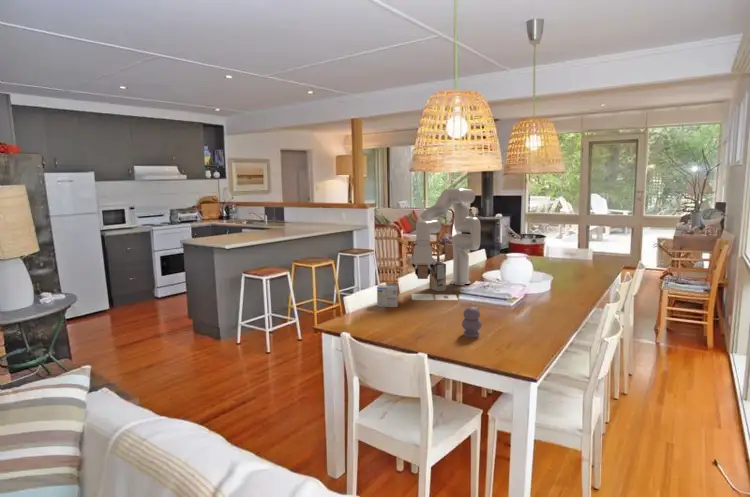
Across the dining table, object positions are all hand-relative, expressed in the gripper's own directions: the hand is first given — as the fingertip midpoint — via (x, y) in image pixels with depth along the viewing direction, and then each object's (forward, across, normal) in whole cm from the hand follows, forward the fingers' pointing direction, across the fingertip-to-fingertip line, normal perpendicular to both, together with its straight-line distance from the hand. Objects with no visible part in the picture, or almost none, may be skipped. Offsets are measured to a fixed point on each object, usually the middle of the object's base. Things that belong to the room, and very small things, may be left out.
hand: (422, 275), depth 255 cm
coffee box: (+13, +10, +20) cm, 26 cm away
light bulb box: (+13, -19, -18) cm, 29 cm away
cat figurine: (+13, +17, -64) cm, 67 cm away
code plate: (+12, +13, 0) cm, 18 cm away
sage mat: (+13, 0, 0) cm, 13 cm away
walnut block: (+1, 0, 0) cm, 1 cm away
